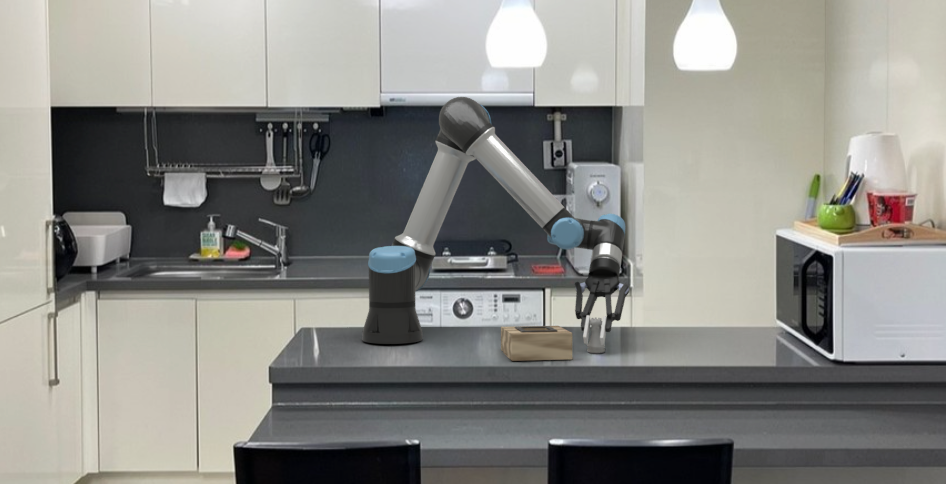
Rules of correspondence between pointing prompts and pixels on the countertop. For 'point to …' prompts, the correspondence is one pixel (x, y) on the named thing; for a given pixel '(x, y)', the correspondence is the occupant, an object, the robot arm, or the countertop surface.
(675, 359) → the countertop surface
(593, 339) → the rook chess piece
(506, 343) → the socket block
